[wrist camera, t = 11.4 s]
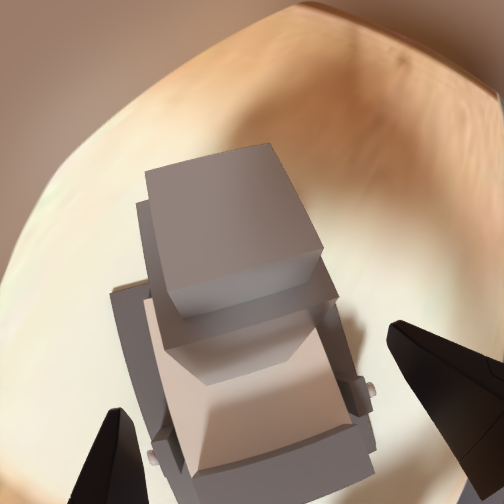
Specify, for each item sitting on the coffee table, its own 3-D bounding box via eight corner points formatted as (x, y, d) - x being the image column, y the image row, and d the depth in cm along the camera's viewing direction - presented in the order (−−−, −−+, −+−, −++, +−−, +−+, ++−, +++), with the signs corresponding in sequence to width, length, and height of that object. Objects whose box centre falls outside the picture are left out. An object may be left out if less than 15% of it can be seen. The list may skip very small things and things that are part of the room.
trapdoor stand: (374, 448, 20) (400, 463, 16) (183, 510, 17) (178, 537, 13) (311, 240, 24) (328, 221, 20) (111, 294, 21) (90, 284, 17)
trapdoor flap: (363, 463, 16) (383, 469, 13) (207, 514, 14) (202, 530, 11) (287, 264, 22) (294, 241, 20) (145, 302, 20) (132, 285, 18)
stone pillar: (286, 361, 18) (362, 265, 7) (206, 386, 18) (142, 331, 6) (260, 288, 21) (283, 124, 9) (184, 309, 20) (119, 161, 8)
